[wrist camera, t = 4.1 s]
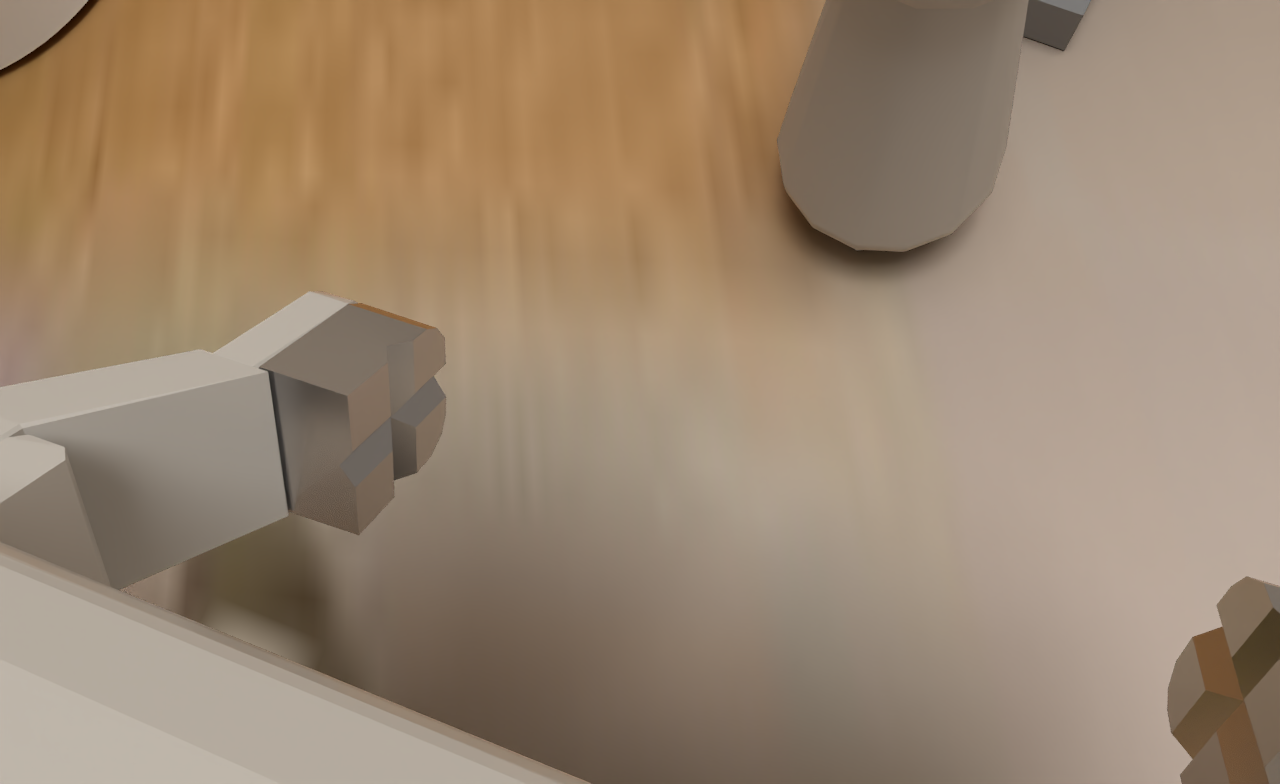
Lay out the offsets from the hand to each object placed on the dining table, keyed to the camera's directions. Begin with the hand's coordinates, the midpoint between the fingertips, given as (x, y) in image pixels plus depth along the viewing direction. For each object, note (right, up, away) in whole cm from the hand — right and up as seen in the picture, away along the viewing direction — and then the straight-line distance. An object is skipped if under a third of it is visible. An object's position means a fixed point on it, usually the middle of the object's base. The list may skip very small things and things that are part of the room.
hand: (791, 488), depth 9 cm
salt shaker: (+5, +7, +16) cm, 19 cm away
